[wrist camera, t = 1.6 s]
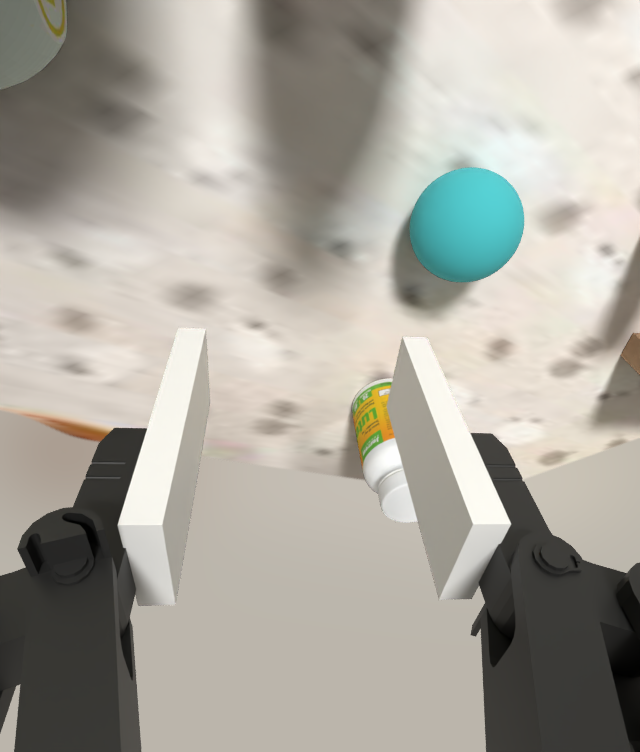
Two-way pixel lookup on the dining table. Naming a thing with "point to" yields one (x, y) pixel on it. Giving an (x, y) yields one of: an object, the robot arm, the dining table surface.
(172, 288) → the dining table surface
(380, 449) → the supplement bottle
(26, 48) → the air freshener
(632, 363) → the walnut backstop
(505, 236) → the ball
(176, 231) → the dining table surface
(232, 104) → the dining table surface
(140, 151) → the dining table surface
